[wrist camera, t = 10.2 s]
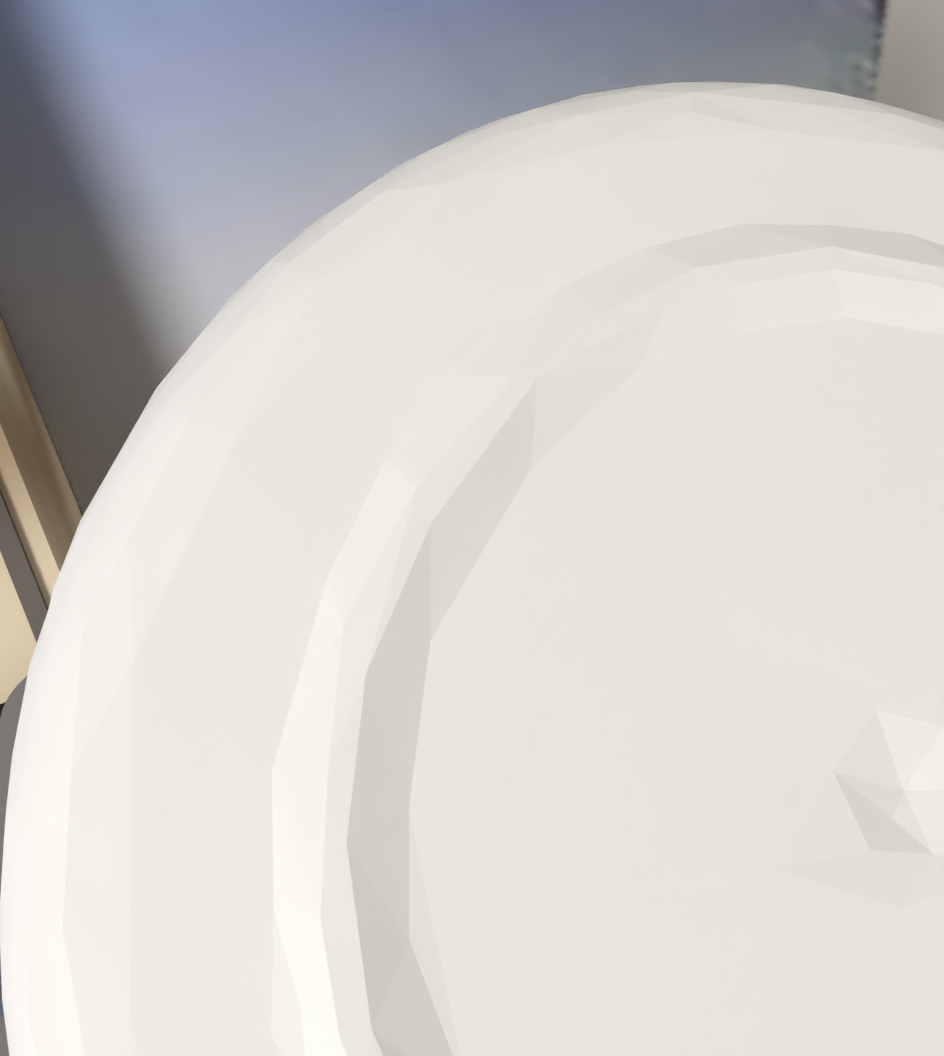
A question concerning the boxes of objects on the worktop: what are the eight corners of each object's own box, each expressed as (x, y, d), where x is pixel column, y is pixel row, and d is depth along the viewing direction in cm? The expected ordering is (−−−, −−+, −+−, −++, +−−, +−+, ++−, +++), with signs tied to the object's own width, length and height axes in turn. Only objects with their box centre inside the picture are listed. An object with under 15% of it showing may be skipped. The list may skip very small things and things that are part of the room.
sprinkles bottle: (503, 790, 15) (1748, 1746, 2) (265, 788, 14) (-340, 2447, 1) (511, 561, 16) (1446, 145, 3) (286, 545, 15) (75, -176, 2)
